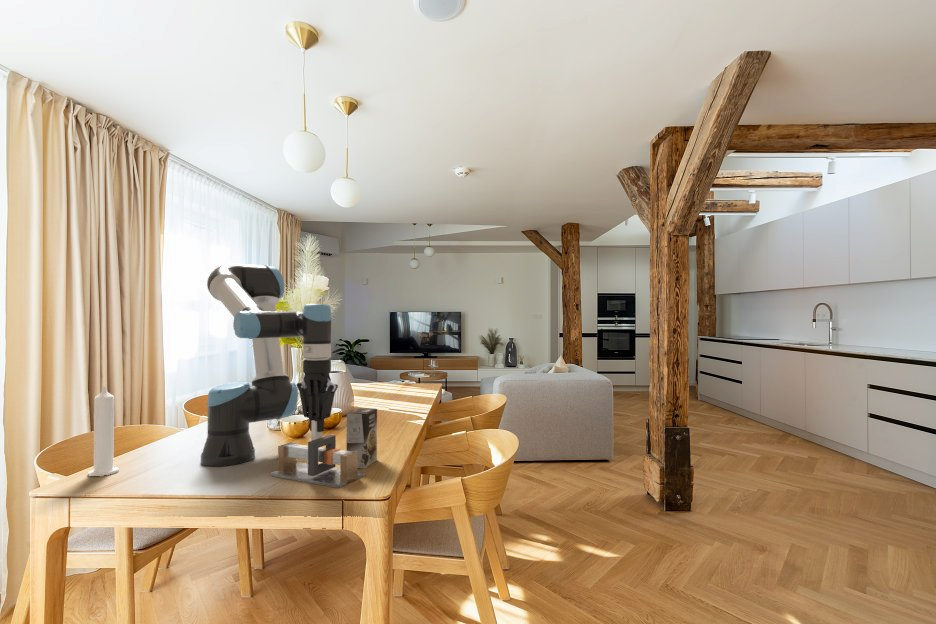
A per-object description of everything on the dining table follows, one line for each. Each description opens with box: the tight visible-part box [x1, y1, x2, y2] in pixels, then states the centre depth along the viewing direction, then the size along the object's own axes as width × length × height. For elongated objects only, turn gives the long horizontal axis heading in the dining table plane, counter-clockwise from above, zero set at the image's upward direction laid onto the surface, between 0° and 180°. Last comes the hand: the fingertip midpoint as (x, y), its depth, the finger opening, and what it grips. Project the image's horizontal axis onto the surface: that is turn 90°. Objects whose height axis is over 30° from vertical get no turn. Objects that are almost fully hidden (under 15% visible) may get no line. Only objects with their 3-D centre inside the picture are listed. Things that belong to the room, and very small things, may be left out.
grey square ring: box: [307, 434, 336, 476], centre depth 136 cm, size 2×9×9 cm, turn 156°
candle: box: [87, 384, 120, 477], centre depth 139 cm, size 7×7×25 cm
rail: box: [269, 441, 365, 489], centre depth 137 cm, size 24×11×8 cm, turn 66°
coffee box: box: [345, 407, 378, 469], centre depth 148 cm, size 9×6×16 cm
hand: (316, 443), depth 137 cm, fingers closed
